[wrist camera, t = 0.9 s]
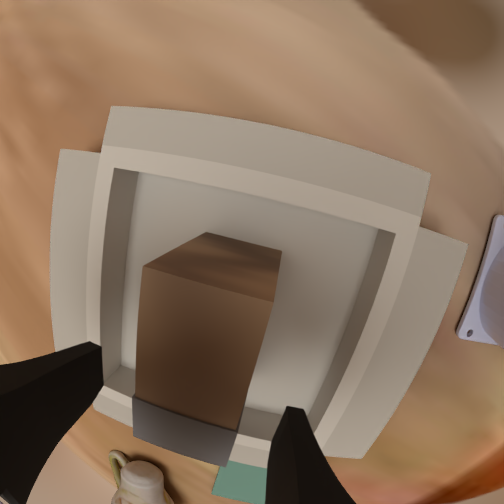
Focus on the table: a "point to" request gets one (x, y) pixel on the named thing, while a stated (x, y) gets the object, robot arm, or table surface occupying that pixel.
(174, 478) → the table surface
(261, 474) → the mat
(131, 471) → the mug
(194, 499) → the table surface
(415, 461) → the table surface
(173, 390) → the box
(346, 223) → the off-white shallow square tray
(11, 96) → the table surface
